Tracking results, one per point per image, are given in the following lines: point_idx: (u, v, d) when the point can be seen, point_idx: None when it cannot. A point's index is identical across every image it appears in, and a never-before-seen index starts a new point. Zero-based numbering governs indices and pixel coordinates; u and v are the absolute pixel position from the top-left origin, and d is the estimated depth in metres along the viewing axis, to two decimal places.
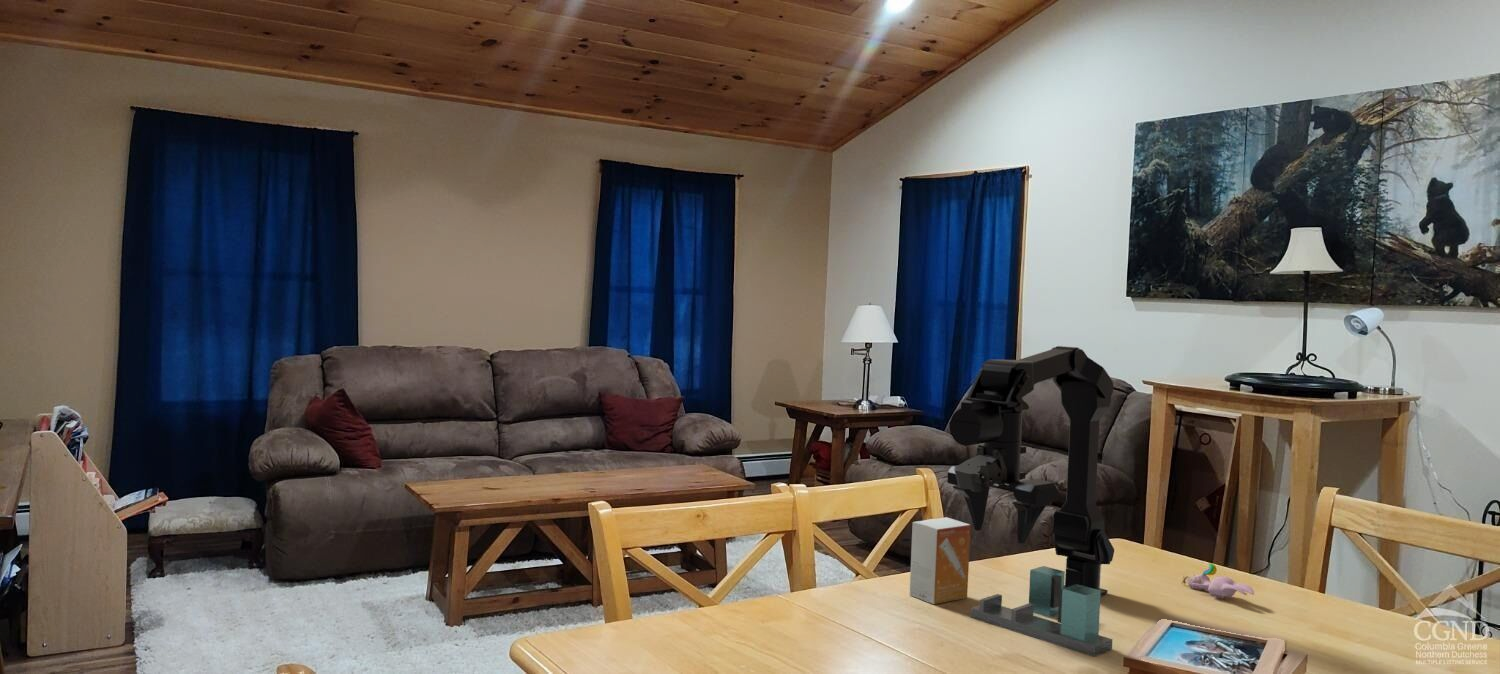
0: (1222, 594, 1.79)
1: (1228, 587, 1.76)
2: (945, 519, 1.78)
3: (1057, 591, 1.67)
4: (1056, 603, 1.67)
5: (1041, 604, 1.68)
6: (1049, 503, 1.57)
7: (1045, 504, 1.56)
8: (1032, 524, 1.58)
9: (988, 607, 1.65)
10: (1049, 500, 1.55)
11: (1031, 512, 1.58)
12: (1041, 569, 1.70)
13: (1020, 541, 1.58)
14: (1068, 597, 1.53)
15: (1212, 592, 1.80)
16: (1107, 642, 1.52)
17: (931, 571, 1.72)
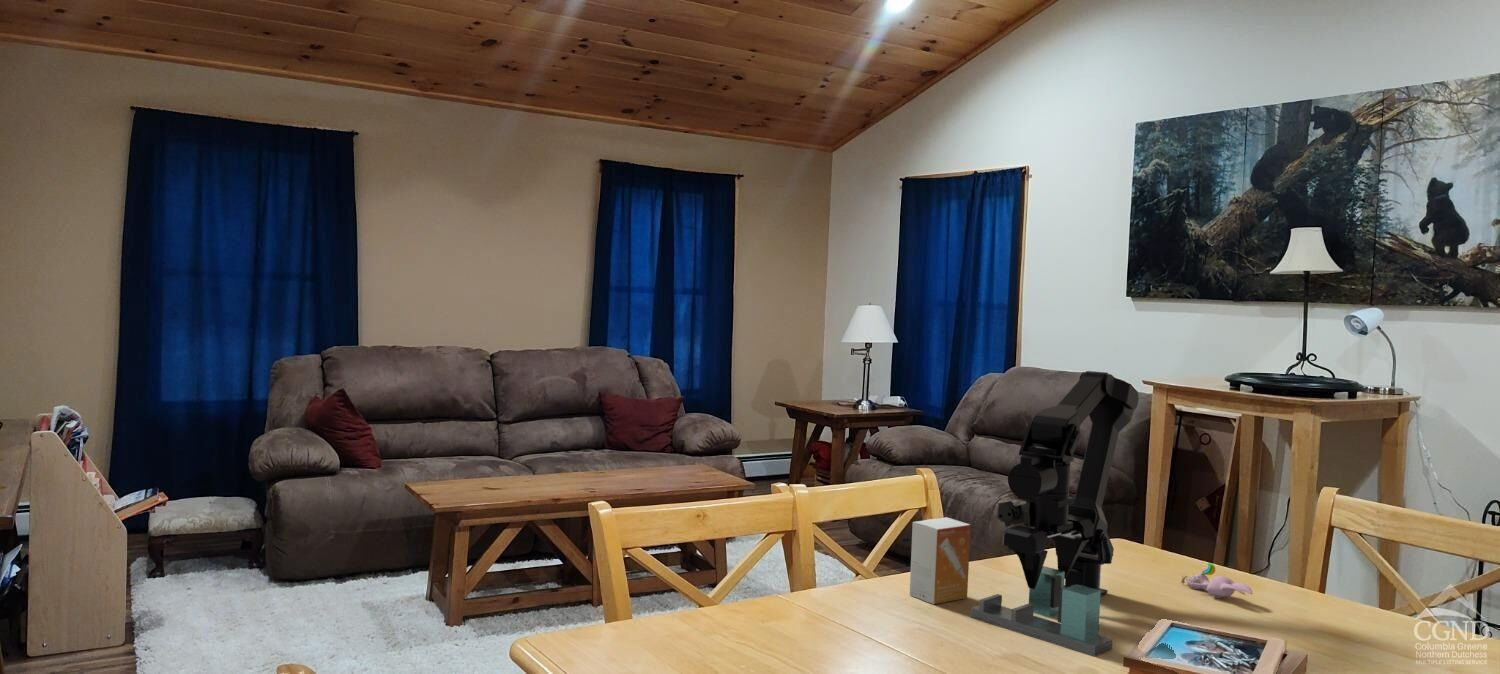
0: (1221, 593, 1.79)
1: (1226, 587, 1.77)
2: (945, 519, 1.79)
3: (1057, 591, 1.67)
4: (1056, 603, 1.67)
5: (1041, 604, 1.68)
6: (1032, 553, 1.62)
7: (1027, 552, 1.63)
8: (1034, 572, 1.65)
9: (988, 607, 1.65)
10: (1019, 547, 1.63)
11: (1032, 560, 1.65)
12: None
13: (1028, 585, 1.67)
14: (1068, 597, 1.53)
15: (1210, 591, 1.80)
16: (1107, 642, 1.52)
17: (931, 571, 1.72)
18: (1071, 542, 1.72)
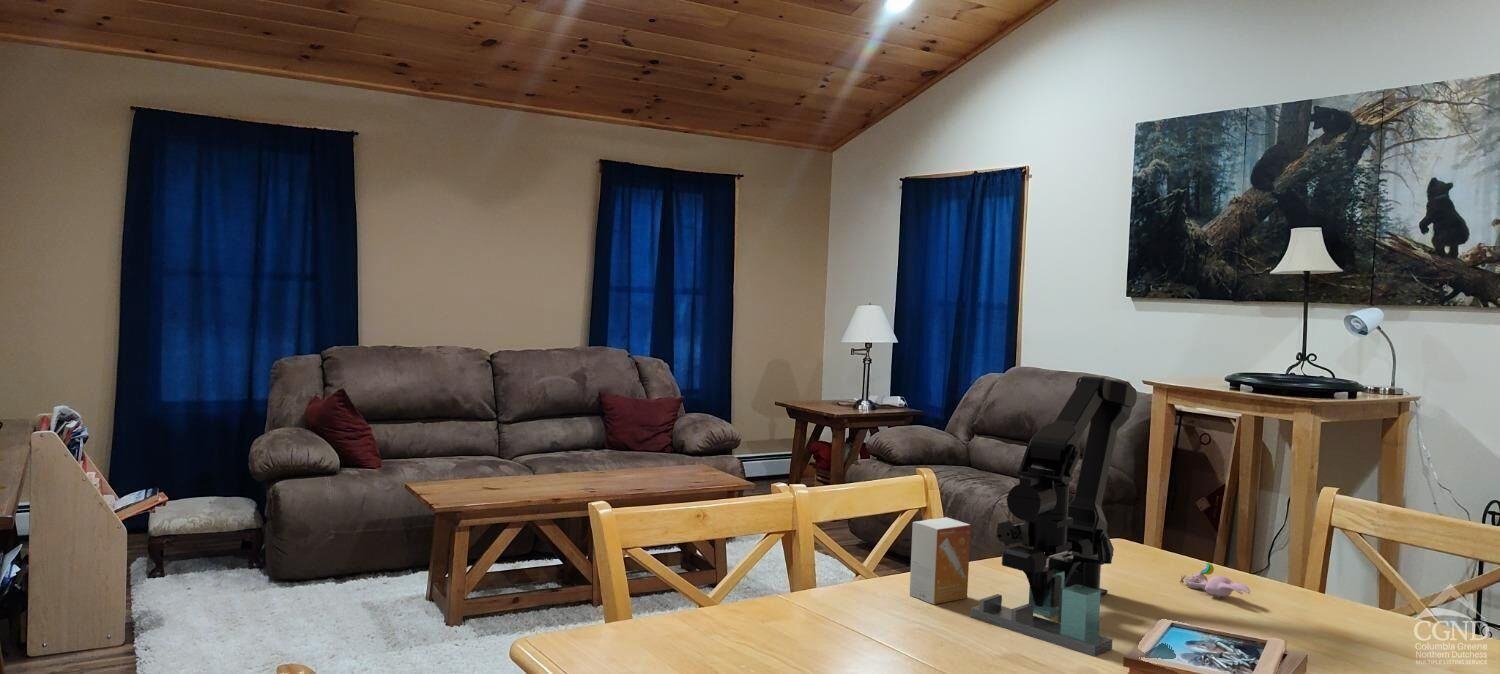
0: (1219, 593, 1.79)
1: (1224, 586, 1.77)
2: (945, 519, 1.79)
3: (1057, 591, 1.67)
4: (1056, 603, 1.67)
5: None
6: (1040, 572, 1.64)
7: None
8: (1041, 590, 1.67)
9: (988, 607, 1.65)
10: (1018, 568, 1.63)
11: (1039, 578, 1.67)
12: None
13: (1035, 603, 1.69)
14: (1068, 597, 1.53)
15: (1208, 591, 1.80)
16: (1107, 642, 1.52)
17: (931, 571, 1.72)
18: (1062, 564, 1.70)
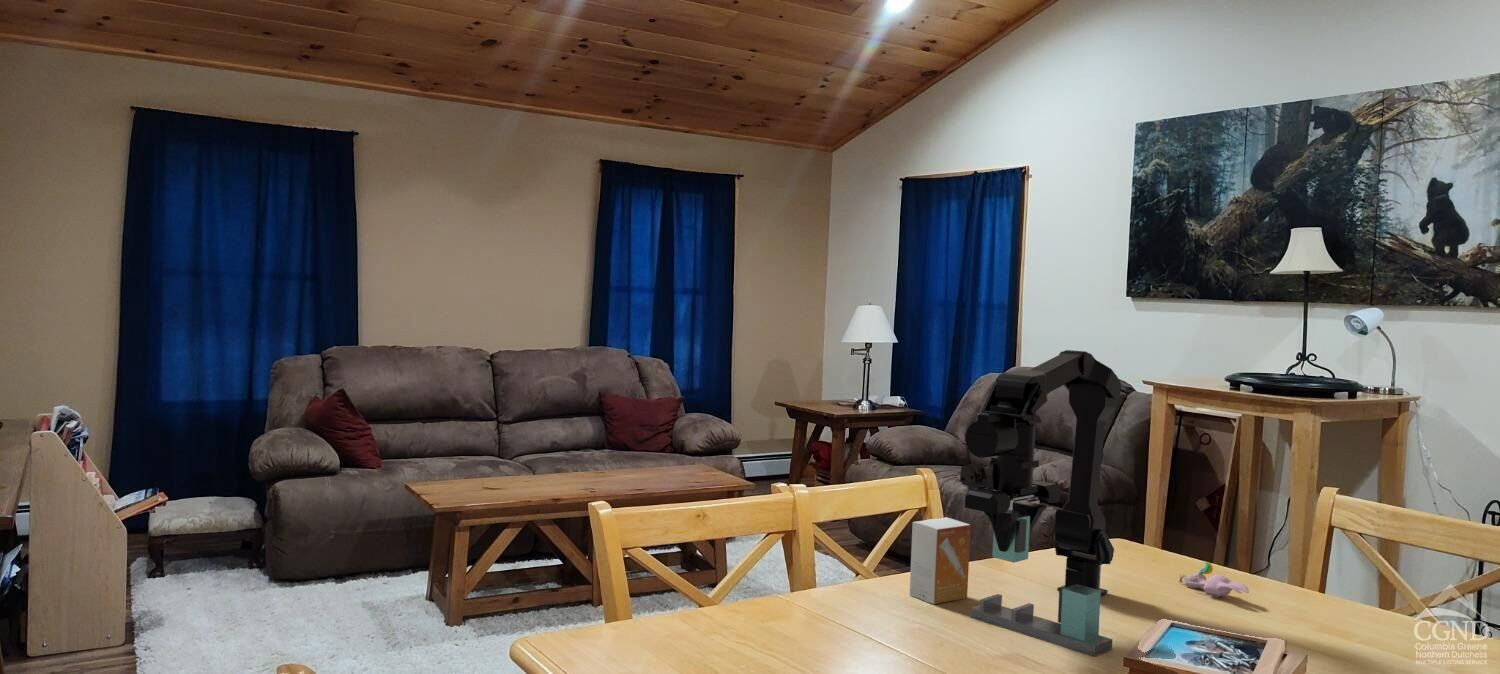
0: (1218, 592, 1.79)
1: (1223, 586, 1.77)
2: (945, 519, 1.79)
3: (1022, 535, 1.61)
4: (1021, 548, 1.61)
5: None
6: (1003, 514, 1.58)
7: None
8: (1005, 534, 1.60)
9: (988, 607, 1.65)
10: (981, 509, 1.56)
11: (1003, 521, 1.60)
12: None
13: (999, 548, 1.62)
14: (1068, 597, 1.53)
15: (1207, 590, 1.80)
16: (1107, 642, 1.52)
17: (931, 571, 1.72)
18: (1028, 509, 1.64)
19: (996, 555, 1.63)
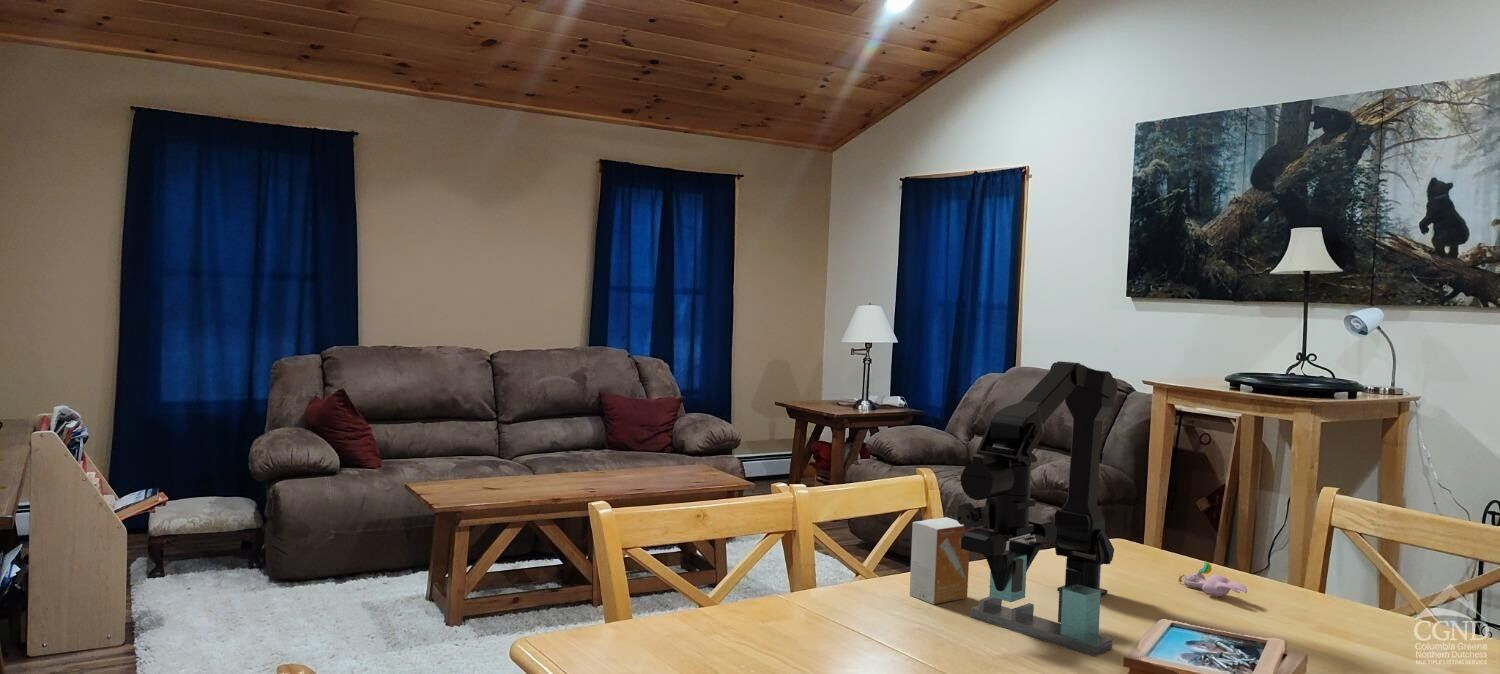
0: (1216, 592, 1.79)
1: (1221, 585, 1.77)
2: (945, 519, 1.79)
3: (1018, 575, 1.61)
4: (1017, 587, 1.61)
5: None
6: (999, 555, 1.58)
7: None
8: (1002, 574, 1.61)
9: (988, 607, 1.65)
10: (977, 551, 1.57)
11: (999, 561, 1.61)
12: None
13: (996, 587, 1.62)
14: (1068, 597, 1.53)
15: (1206, 590, 1.81)
16: (1107, 642, 1.52)
17: (931, 571, 1.72)
18: (1024, 548, 1.64)
19: (993, 594, 1.63)
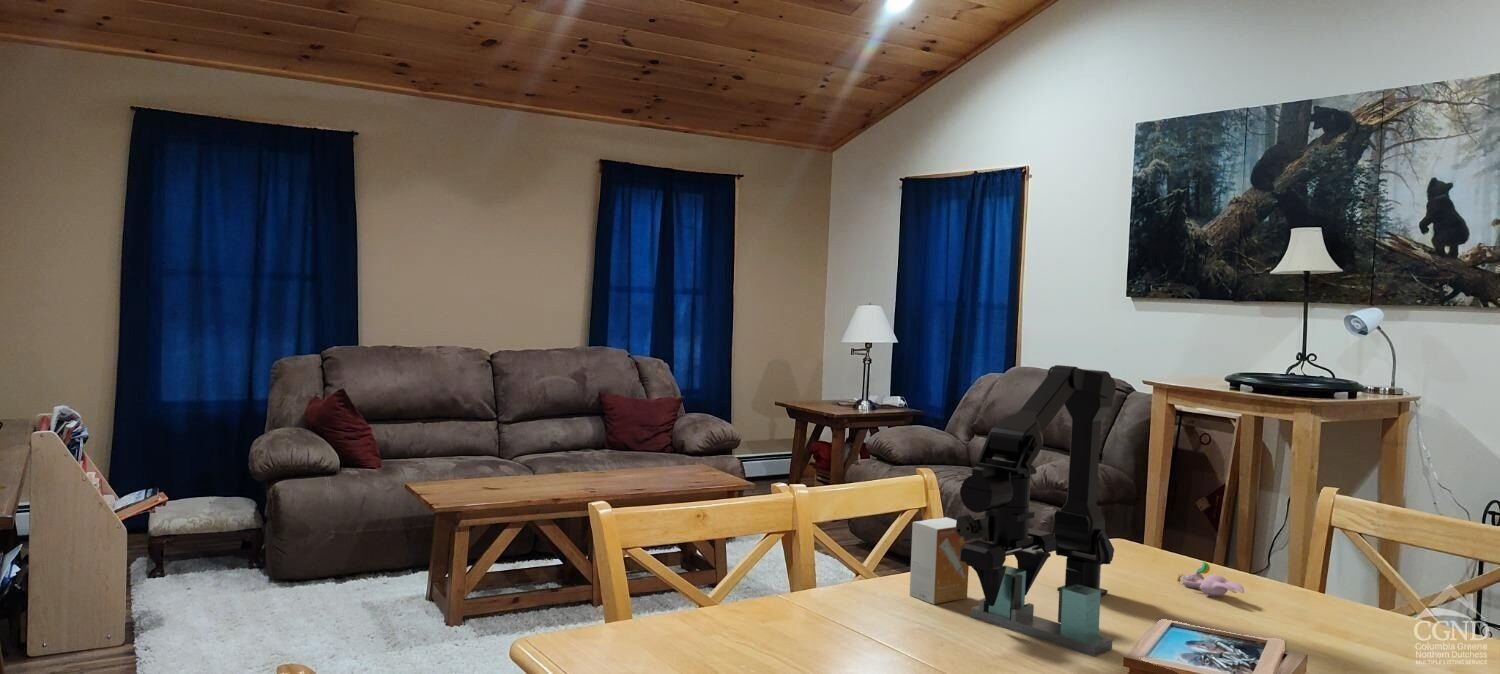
0: (1214, 592, 1.80)
1: (1218, 585, 1.77)
2: (945, 519, 1.78)
3: (1017, 591, 1.61)
4: (1016, 603, 1.61)
5: (1001, 605, 1.62)
6: (990, 569, 1.57)
7: (985, 569, 1.57)
8: (993, 589, 1.59)
9: (988, 607, 1.65)
10: (976, 563, 1.57)
11: (990, 576, 1.59)
12: None
13: (987, 602, 1.61)
14: (1068, 597, 1.53)
15: (1203, 590, 1.81)
16: (1107, 642, 1.52)
17: (931, 571, 1.72)
18: (1032, 557, 1.66)
19: (992, 610, 1.64)
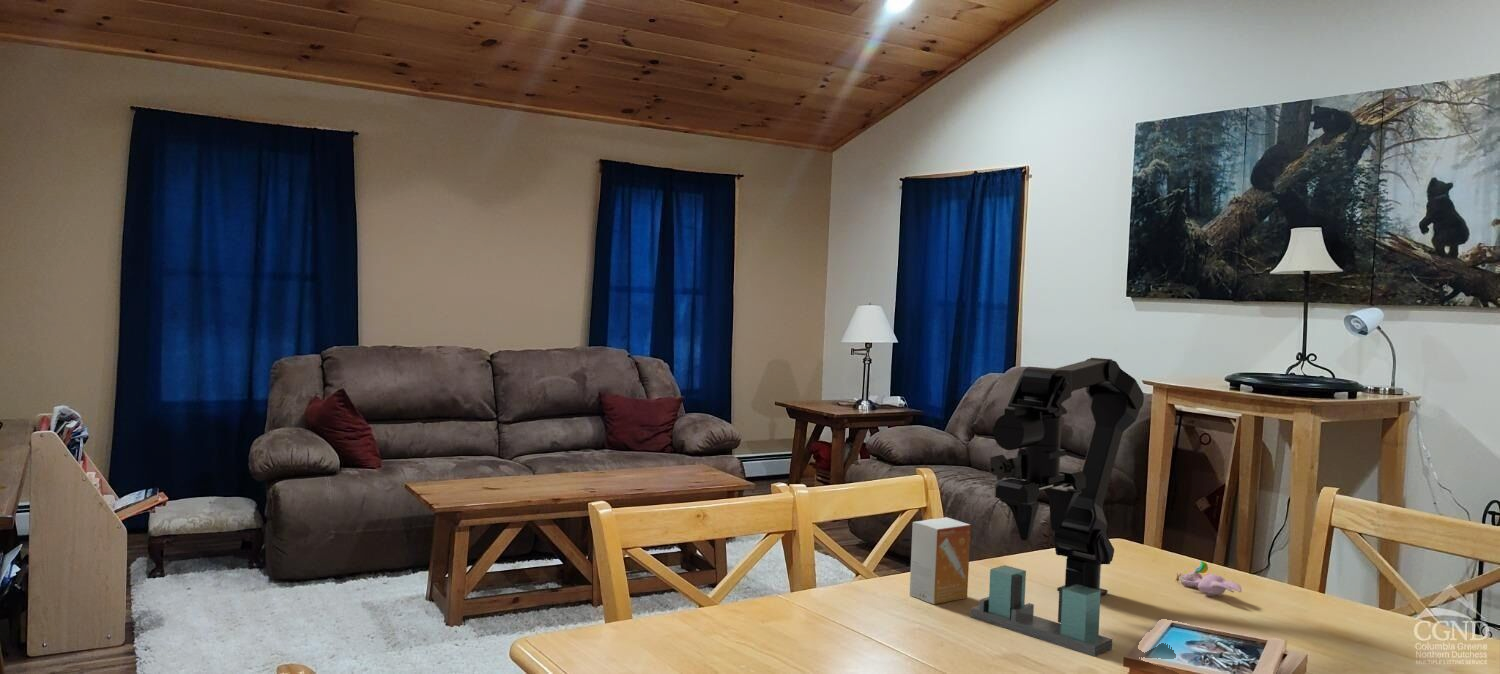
0: (1211, 591, 1.80)
1: (1216, 584, 1.78)
2: (945, 519, 1.79)
3: (1017, 591, 1.61)
4: (1016, 603, 1.61)
5: (1001, 605, 1.62)
6: (1024, 505, 1.63)
7: (1019, 504, 1.64)
8: (1027, 524, 1.66)
9: (988, 607, 1.65)
10: (1011, 499, 1.63)
11: (1024, 511, 1.66)
12: (1002, 568, 1.64)
13: (1020, 537, 1.68)
14: (1068, 597, 1.53)
15: (1201, 589, 1.81)
16: (1107, 642, 1.52)
17: (931, 571, 1.72)
18: (1063, 494, 1.73)
19: (992, 610, 1.64)
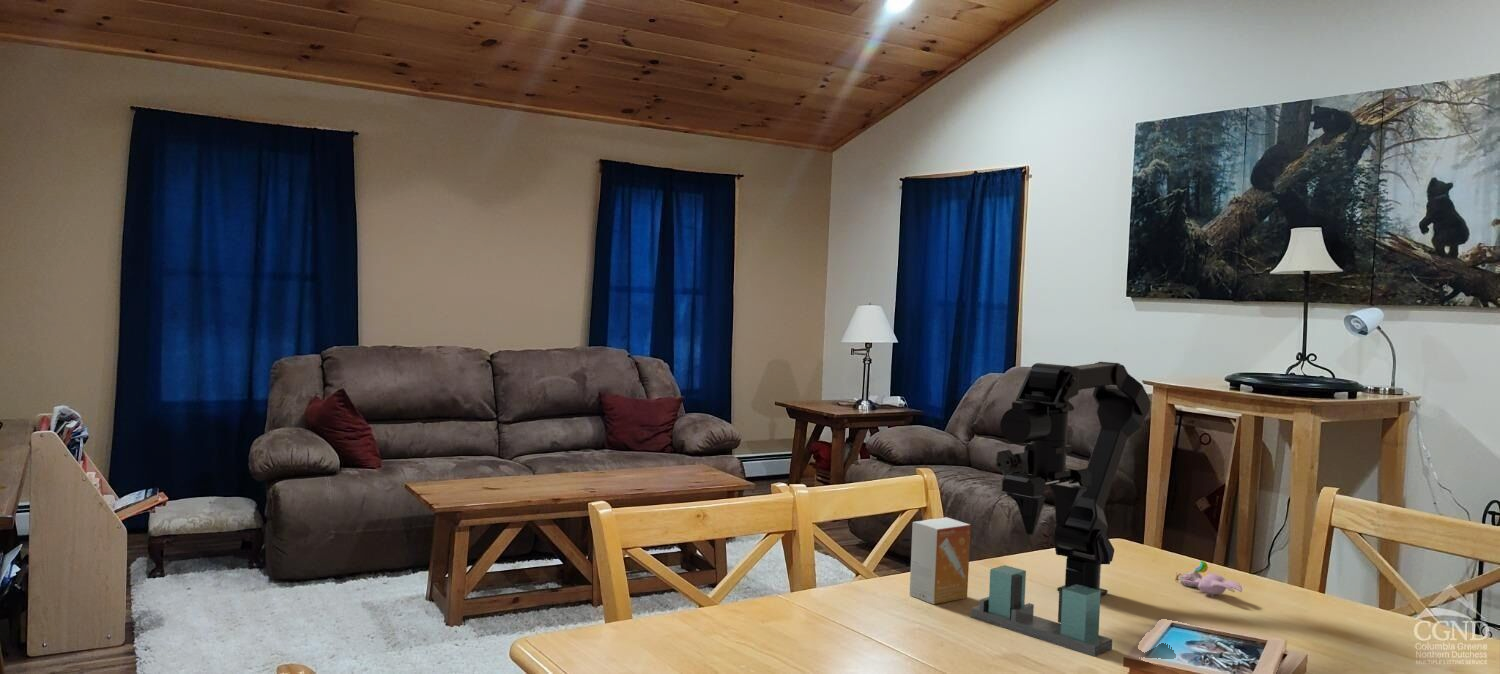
0: (1212, 590, 1.80)
1: (1216, 584, 1.78)
2: (945, 519, 1.79)
3: (1017, 591, 1.61)
4: (1016, 603, 1.61)
5: (1001, 605, 1.62)
6: (1030, 498, 1.65)
7: (1025, 498, 1.65)
8: (1032, 518, 1.67)
9: (988, 607, 1.65)
10: (1018, 492, 1.65)
11: (1030, 505, 1.67)
12: (1002, 568, 1.64)
13: (1026, 531, 1.69)
14: (1068, 597, 1.53)
15: (1201, 589, 1.81)
16: (1107, 642, 1.52)
17: (931, 571, 1.72)
18: (1069, 491, 1.74)
19: (992, 610, 1.64)
